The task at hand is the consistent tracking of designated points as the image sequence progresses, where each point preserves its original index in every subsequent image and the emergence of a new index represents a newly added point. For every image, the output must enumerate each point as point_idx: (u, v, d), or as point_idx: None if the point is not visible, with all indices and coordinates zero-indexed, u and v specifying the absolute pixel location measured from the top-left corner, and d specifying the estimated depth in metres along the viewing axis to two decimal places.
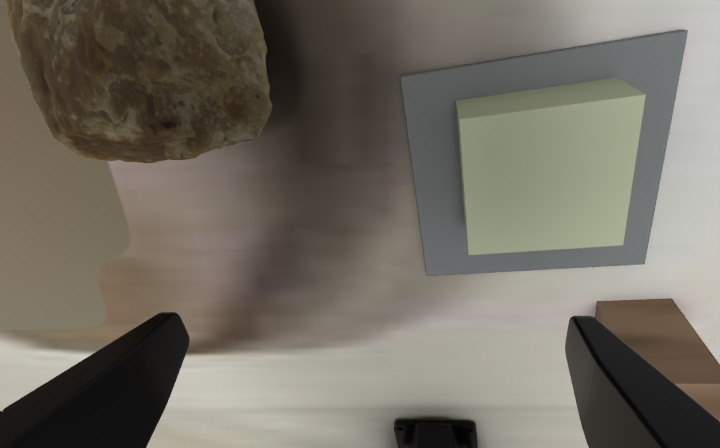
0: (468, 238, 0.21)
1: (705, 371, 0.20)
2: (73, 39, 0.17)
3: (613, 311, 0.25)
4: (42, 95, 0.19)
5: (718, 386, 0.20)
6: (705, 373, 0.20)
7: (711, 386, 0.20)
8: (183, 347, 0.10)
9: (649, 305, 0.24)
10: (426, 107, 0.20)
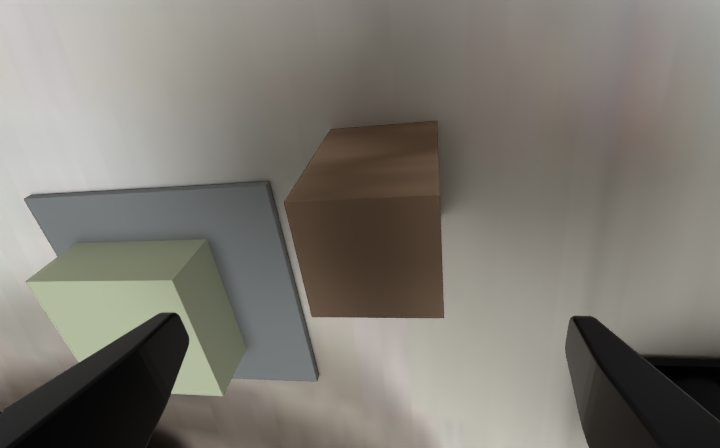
0: (204, 394, 0.20)
1: None
2: None
3: None
4: None
5: (295, 220, 0.11)
6: None
7: (298, 229, 0.11)
8: (183, 347, 0.10)
9: None
10: None
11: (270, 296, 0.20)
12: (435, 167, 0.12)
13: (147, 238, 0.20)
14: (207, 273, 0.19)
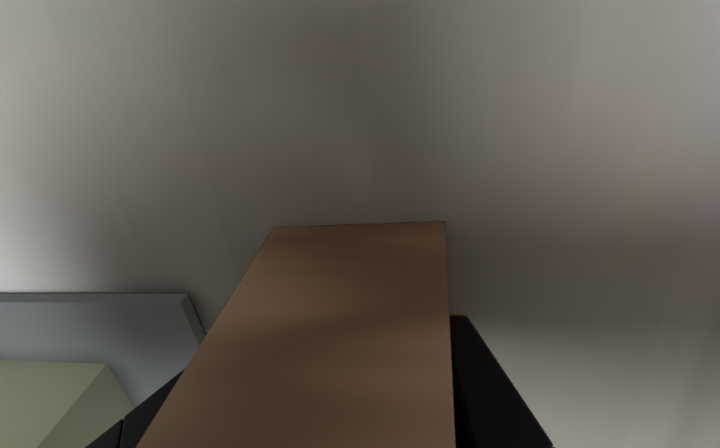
0: None
1: None
2: None
3: None
4: None
5: None
6: None
7: None
8: None
9: None
10: None
11: None
12: (446, 387, 0.06)
13: (26, 358, 0.14)
14: (107, 413, 0.13)
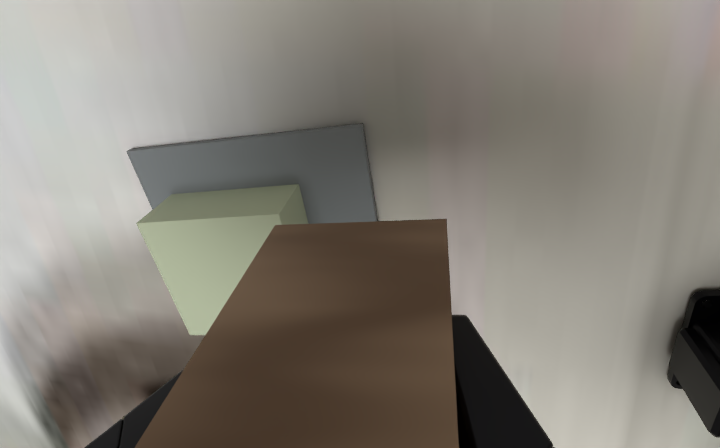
0: None
1: None
2: None
3: None
4: None
5: None
6: None
7: None
8: None
9: None
10: None
11: None
12: (448, 384, 0.05)
13: (241, 186, 0.21)
14: (300, 216, 0.20)
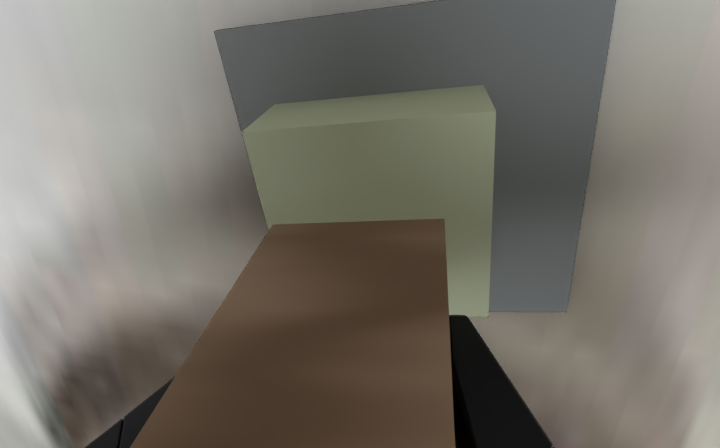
0: (458, 314, 0.14)
1: None
2: None
3: None
4: None
5: None
6: None
7: None
8: None
9: None
10: None
11: (549, 178, 0.14)
12: (446, 384, 0.05)
13: (389, 89, 0.14)
14: None
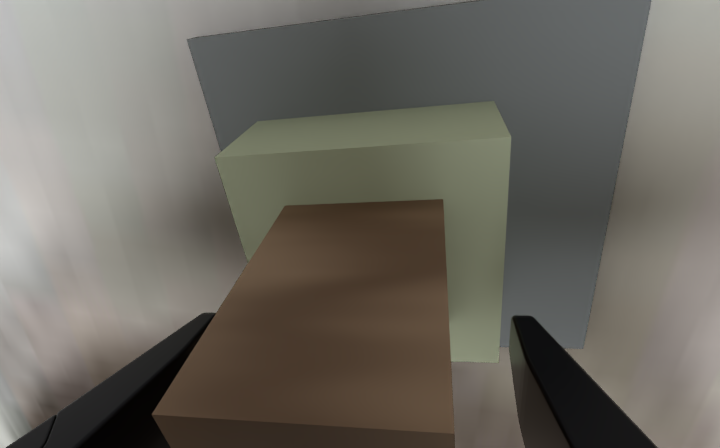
0: (464, 359, 0.13)
1: None
2: None
3: None
4: None
5: (178, 440, 0.06)
6: None
7: None
8: None
9: None
10: None
11: (567, 205, 0.13)
12: (444, 332, 0.06)
13: (387, 105, 0.12)
14: None
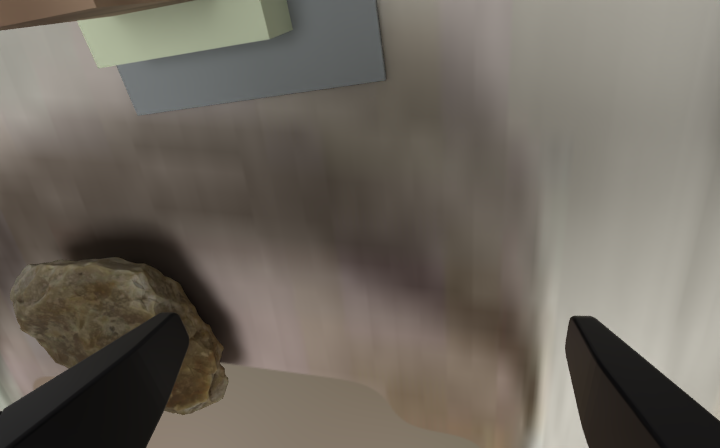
0: (243, 42, 0.15)
1: None
2: None
3: None
4: None
5: None
6: None
7: None
8: (183, 347, 0.10)
9: None
10: (158, 87, 0.19)
11: None
12: None
13: None
14: None
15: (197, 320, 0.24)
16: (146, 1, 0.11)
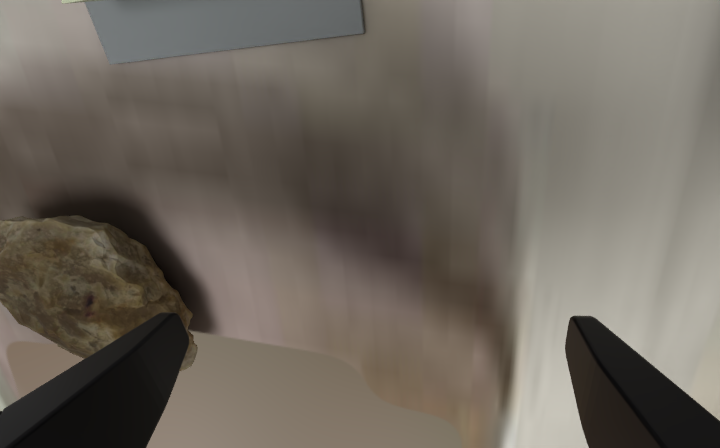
0: None
1: None
2: (61, 345, 0.23)
3: None
4: None
5: None
6: None
7: None
8: (183, 347, 0.10)
9: None
10: (130, 34, 0.19)
11: None
12: None
13: None
14: None
15: (163, 284, 0.24)
16: None
